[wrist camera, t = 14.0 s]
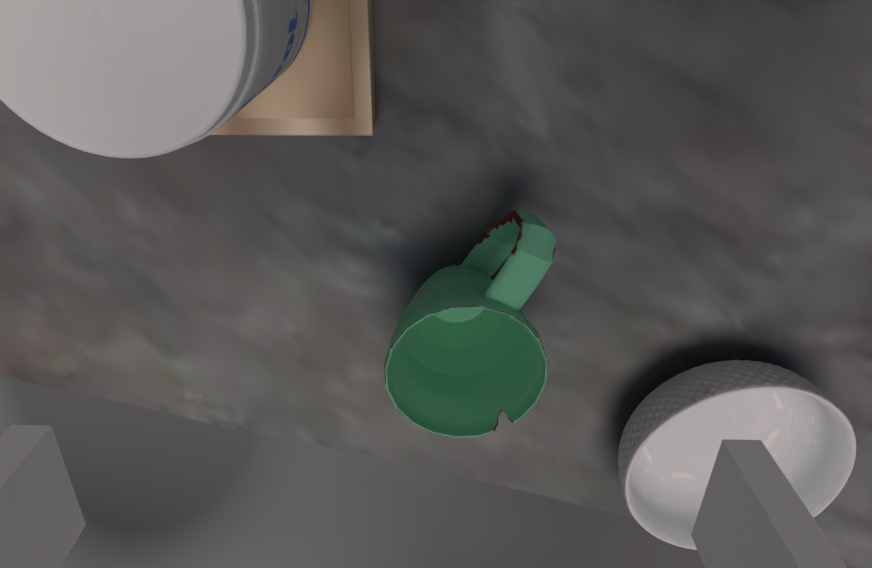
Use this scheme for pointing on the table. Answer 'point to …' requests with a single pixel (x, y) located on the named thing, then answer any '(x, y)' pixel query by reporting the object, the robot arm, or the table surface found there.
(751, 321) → the table surface
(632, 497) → the cereal bowl
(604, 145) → the table surface
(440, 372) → the mug
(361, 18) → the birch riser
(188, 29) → the supplement tub
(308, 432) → the table surface
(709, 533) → the robot arm
